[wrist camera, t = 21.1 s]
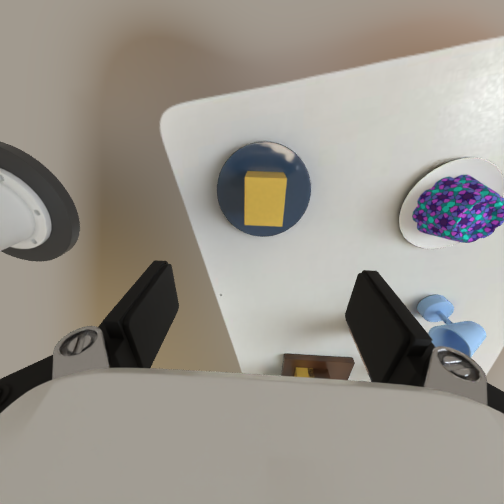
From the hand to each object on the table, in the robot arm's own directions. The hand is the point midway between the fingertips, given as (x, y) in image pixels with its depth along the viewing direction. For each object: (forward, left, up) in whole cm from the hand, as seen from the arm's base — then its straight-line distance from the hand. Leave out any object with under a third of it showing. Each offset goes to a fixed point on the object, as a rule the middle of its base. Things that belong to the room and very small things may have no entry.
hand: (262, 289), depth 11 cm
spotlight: (+29, -18, -20) cm, 40 cm away
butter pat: (0, 0, -19) cm, 19 cm away
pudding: (+24, -1, -20) cm, 32 cm away
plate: (0, 0, -20) cm, 20 cm away
